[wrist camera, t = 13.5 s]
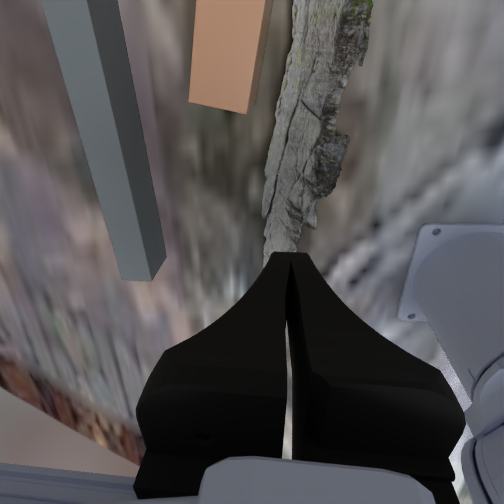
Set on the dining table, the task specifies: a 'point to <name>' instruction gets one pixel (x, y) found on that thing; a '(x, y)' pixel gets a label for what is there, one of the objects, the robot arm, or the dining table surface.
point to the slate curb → (109, 128)
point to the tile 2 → (228, 52)
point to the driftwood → (311, 115)
